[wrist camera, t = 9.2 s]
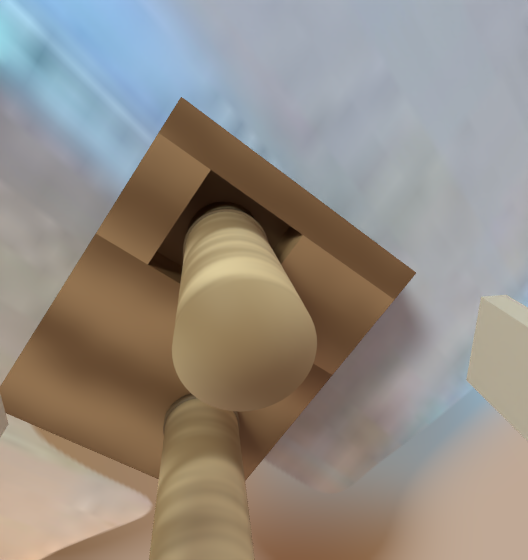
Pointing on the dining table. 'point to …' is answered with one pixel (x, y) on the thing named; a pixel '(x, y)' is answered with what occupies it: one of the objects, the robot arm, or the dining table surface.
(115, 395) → the board
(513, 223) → the dining table surface
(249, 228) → the beech peg
